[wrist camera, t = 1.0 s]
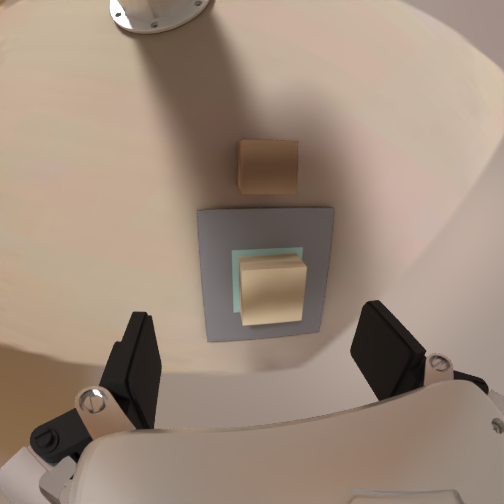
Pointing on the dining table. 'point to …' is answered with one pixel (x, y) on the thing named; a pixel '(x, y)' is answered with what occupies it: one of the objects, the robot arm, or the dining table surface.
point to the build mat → (260, 243)
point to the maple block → (271, 288)
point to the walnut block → (267, 166)
